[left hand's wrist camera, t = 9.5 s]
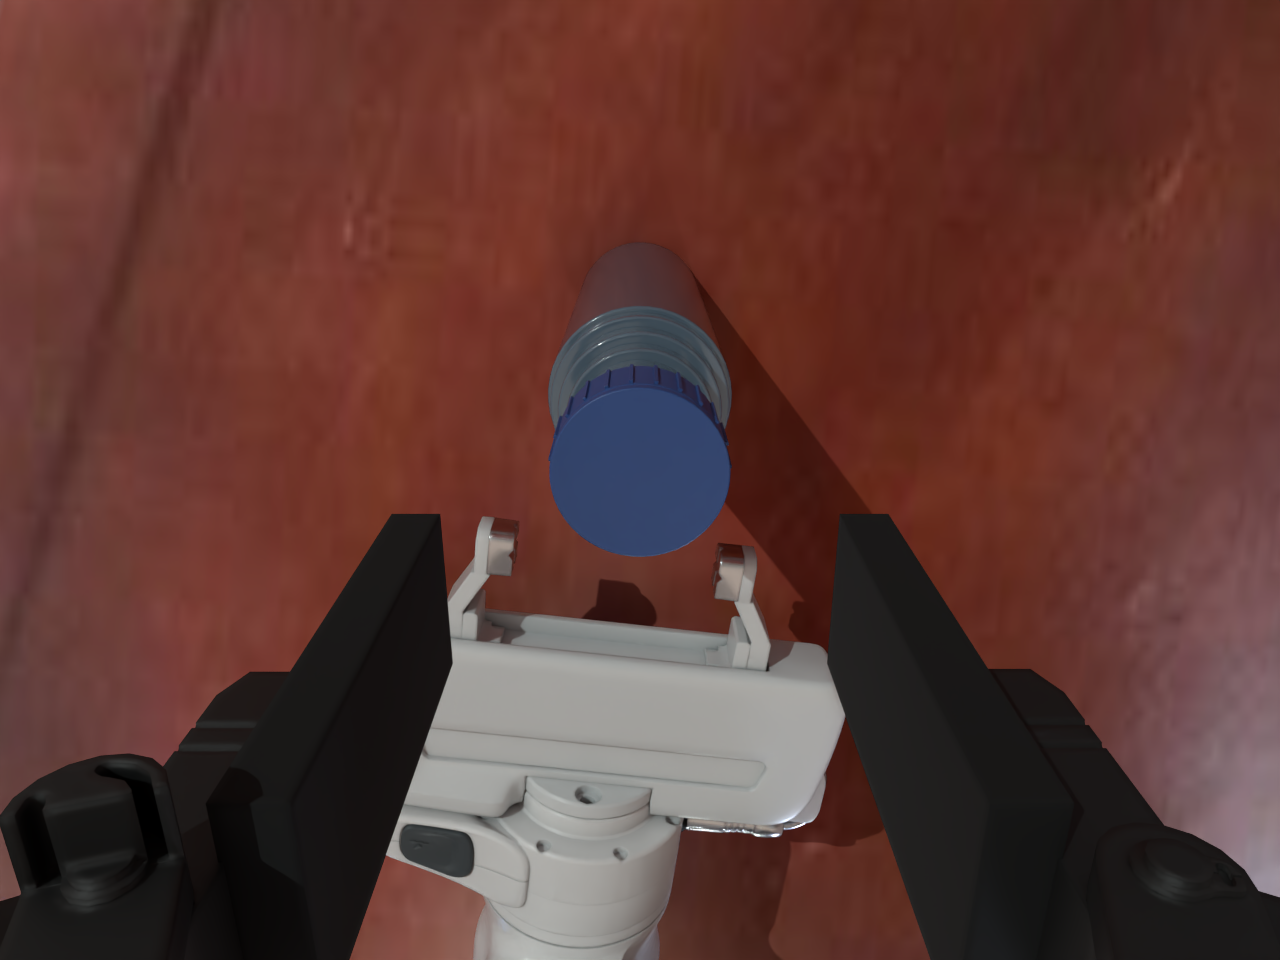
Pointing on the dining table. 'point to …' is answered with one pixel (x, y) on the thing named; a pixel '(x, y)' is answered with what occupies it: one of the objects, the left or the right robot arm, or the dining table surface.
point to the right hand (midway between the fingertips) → (618, 536)
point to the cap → (639, 461)
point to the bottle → (639, 327)
